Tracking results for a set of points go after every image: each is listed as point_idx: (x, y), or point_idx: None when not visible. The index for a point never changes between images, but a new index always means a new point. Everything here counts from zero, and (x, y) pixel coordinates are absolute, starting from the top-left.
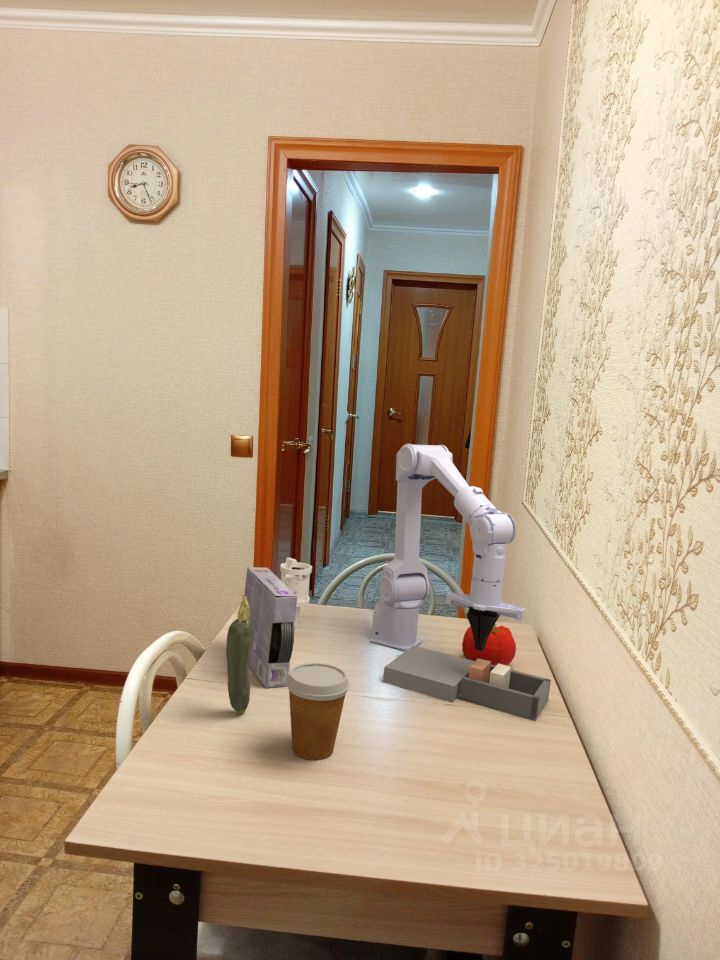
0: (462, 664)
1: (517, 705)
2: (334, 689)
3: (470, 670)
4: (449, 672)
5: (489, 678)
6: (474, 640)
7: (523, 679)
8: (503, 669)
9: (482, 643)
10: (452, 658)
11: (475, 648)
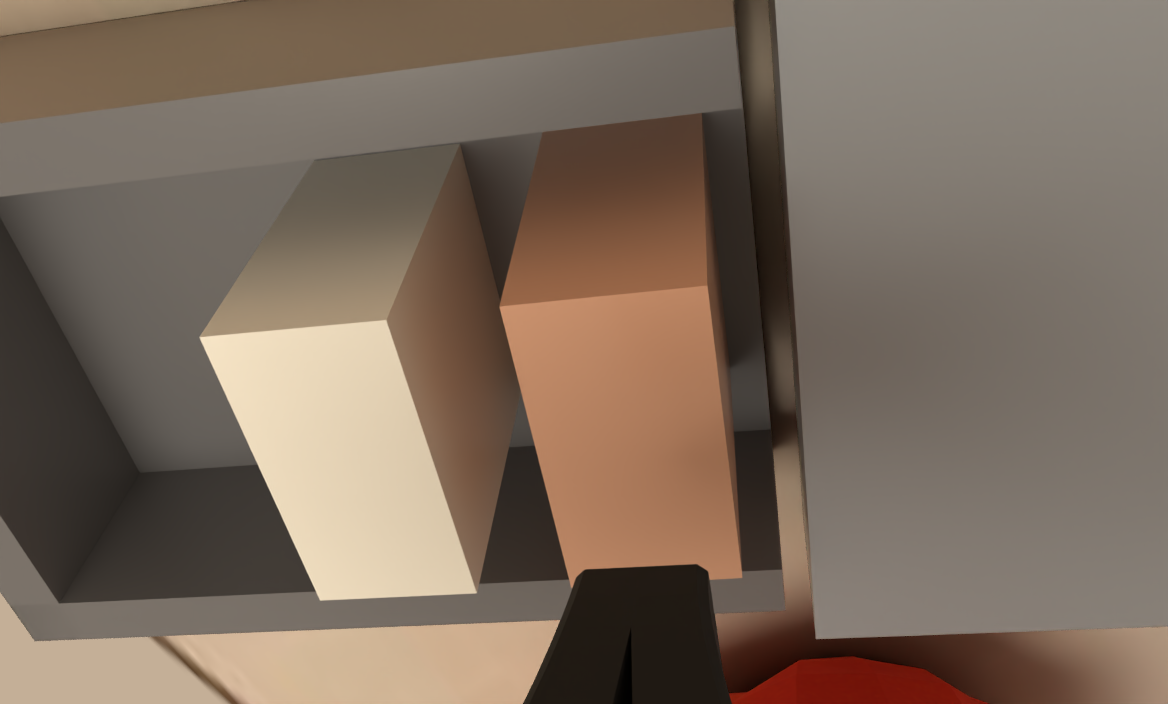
0: (946, 509)
1: (4, 72)
2: None
3: (684, 257)
4: (1012, 215)
5: None
6: (713, 688)
7: (268, 557)
8: (329, 492)
9: (541, 674)
10: (1108, 570)
11: (690, 578)
